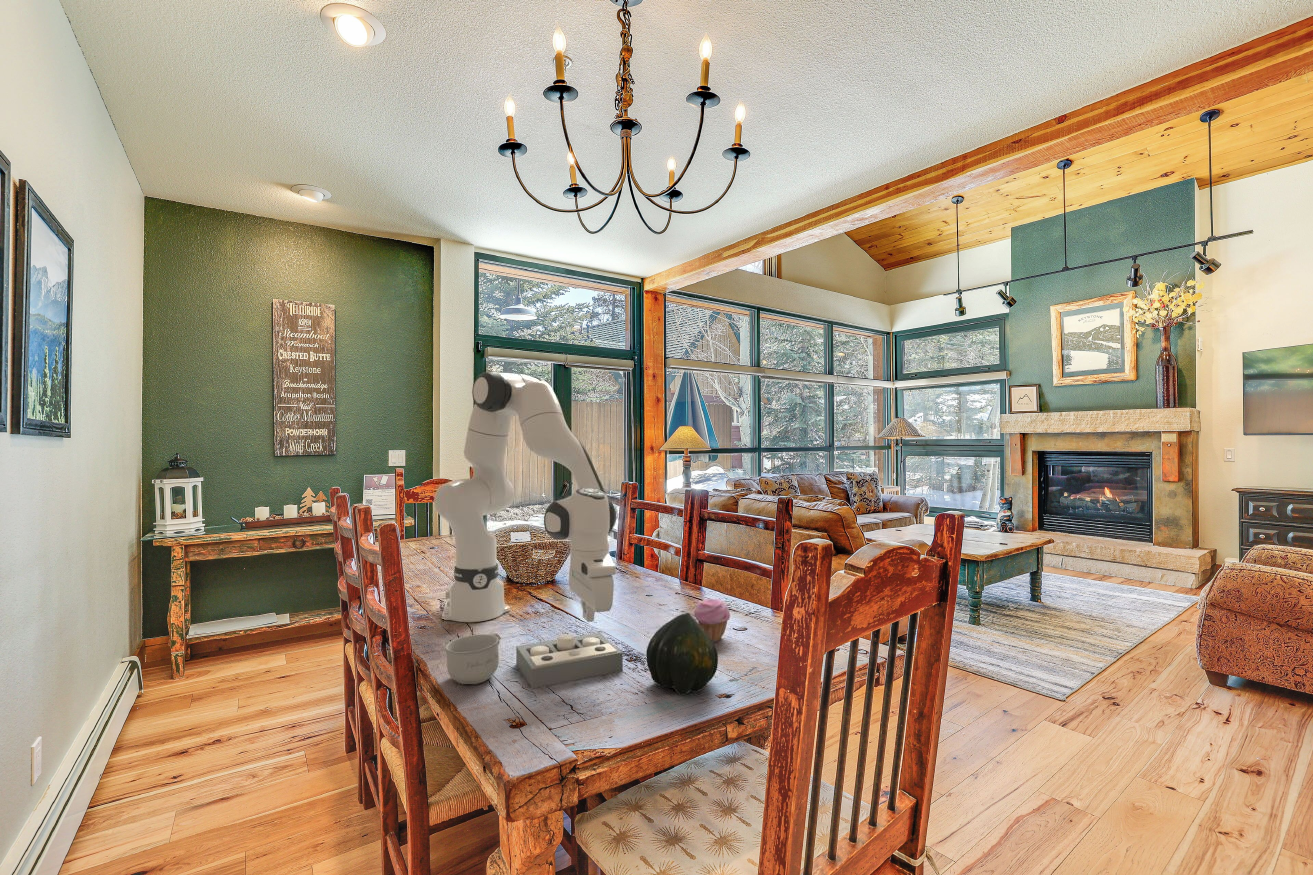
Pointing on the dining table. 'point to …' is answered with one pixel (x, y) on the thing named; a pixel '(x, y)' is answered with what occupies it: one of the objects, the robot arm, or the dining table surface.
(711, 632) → the cupcake
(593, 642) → the button
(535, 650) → the button
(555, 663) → the button board
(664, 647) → the squash
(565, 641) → the button
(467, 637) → the teacup
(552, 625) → the dining table surface
